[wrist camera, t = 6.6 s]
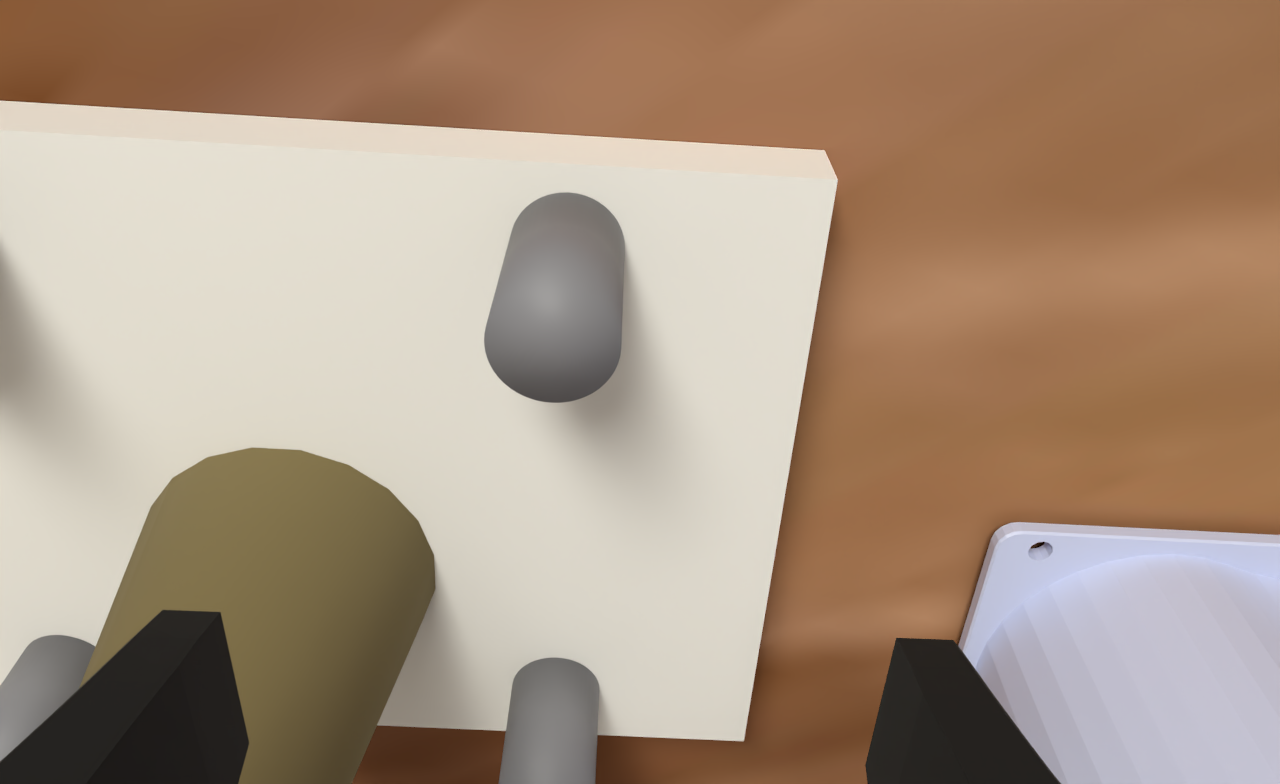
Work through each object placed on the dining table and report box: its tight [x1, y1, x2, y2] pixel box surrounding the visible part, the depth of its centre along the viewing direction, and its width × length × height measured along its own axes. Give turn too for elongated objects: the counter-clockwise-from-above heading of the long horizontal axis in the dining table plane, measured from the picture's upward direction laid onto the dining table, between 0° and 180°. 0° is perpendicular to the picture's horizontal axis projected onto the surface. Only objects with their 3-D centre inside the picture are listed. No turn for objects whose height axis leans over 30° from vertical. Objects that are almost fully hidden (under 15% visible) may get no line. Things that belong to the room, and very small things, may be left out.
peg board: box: [0, 101, 838, 784], centre depth 20 cm, size 20×14×5 cm
